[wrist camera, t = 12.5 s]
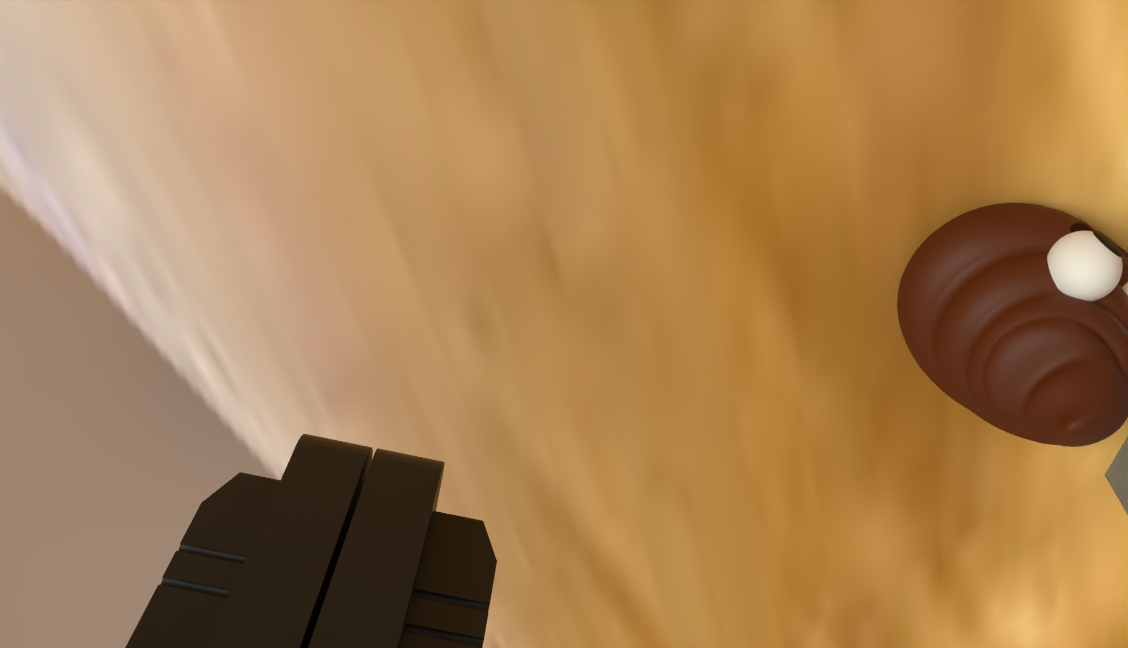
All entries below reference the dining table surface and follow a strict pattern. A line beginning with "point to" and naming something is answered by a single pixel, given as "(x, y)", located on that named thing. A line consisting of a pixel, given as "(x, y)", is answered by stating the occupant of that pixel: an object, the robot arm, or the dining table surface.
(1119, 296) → the poop emoji
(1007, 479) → the dining table surface
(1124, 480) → the rail
